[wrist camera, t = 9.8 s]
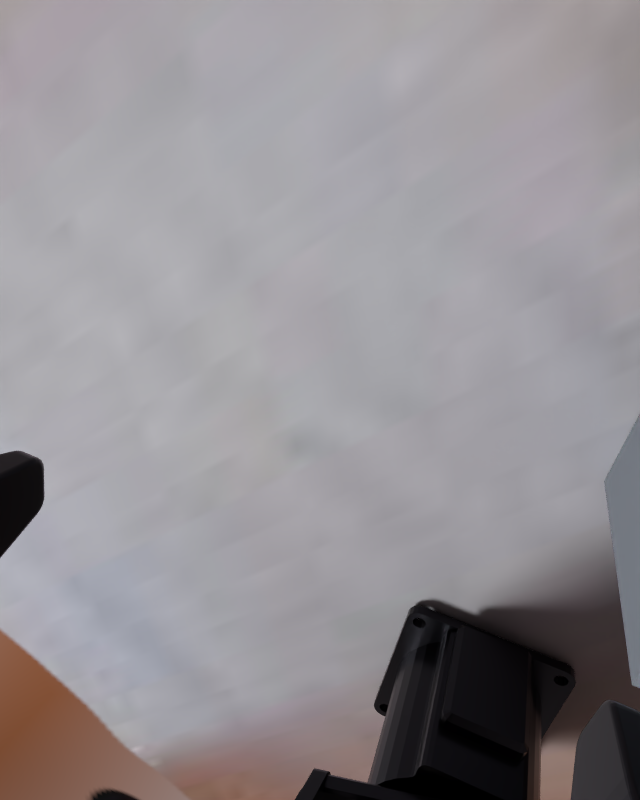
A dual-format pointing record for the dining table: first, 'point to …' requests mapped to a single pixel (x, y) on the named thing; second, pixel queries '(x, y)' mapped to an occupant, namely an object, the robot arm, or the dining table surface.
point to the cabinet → (627, 540)
